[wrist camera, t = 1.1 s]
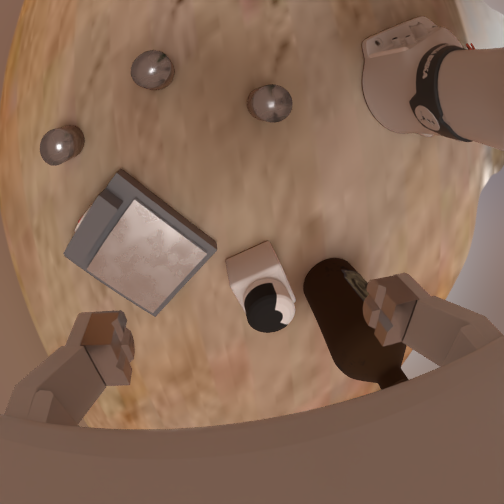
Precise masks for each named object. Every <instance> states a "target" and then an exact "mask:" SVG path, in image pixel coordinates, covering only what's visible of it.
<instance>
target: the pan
mask: <svg viewBox="0 0 504 504" xmlns="http://www.w3.org/2000/svg"><path fill="white" fill-rule="evenodd" d="M206 255H207V251H206V250H205V249H203V248H202V247H201V246H199V245H198V244H197V243H195V242H194V241H192V240H191V239H190V238H188V237H187V236H186V235H184V234H183V233H182V232H180V231H179V230H178V229H176V228H175V227H174V226H172V225H171V224H170V223H168V222H167V221H166V220H165V219H163V218H162V217H161V216H159V215H158V214H157V213H155V212H154V211H153V210H151V209H150V208H149V207H147V206H146V205H145V204H143V203H142V202H141V201H140V200H138V199H137V198H135V199H134V201H133V202H132V203H131V205H130V206H129V207H128V209H127V210H126V212H125V213H124V214H123V216H122V217H121V218H120V220H119V221H118V223H117V224H116V226H115V227H114V228H113V230H112V231H111V233H110V234H109V236H108V237H107V239H106V240H105V242H104V243H103V245H102V246H101V248H100V249H99V251H98V252H97V254H96V255H95V257H94V258H93V260H92V261H91V263H90V265H89V266H88V268H87V270H88V271H89V272H91V273H92V274H93V275H95V276H96V277H98V278H99V279H101V280H102V281H104V282H105V283H107V284H108V285H110V286H111V287H112V288H114V289H115V290H117V291H119V292H120V293H122V294H123V295H125V296H126V297H128V298H129V299H131V300H132V301H134V302H136V303H137V304H139V305H140V306H142V307H144V308H145V309H147V310H148V311H150V312H152V313H154V312H155V310H156V309H157V308H158V307H159V306H160V305H161V304H162V303H163V302H164V300H165V299H166V298H167V297H168V296H169V295H170V294H171V293H172V292H173V291H174V289H175V288H176V287H177V286H178V285H179V284H180V283H181V282H182V281H183V280H184V278H185V277H186V276H187V275H188V274H189V273H190V272H191V271H192V270H193V269H194V268H195V267H196V265H197V264H198V263H199V262H200V261H201V260H202V259H203V258H204V257H205V256H206Z"/></svg>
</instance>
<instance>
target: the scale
mask: <svg viewBox="0 0 504 504" xmlns="http://www.w3.org/2000/svg"><path fill="white" fill-rule="evenodd" d="M135 198H137V199H138V200H140V201H141V202H142V203H143V204H145V205H146V206H147V207H149V208H150V209H151V210H153V211H154V212H155V213H157V214H158V215H159V216H161V217H162V218H163V219H165V220H166V221H167V222H168V223H170V224H171V225H172V226H174V227H175V228H176V229H178V230H179V231H180V232H182V233H183V234H184V235H186V236H187V237H188V238H190V239H191V240H192V241H194V242H195V243H197V244H198V245H199V246H201V247H202V248H203V249H205V250H206V251H207V255H206V256H205V257H204V258H203V259H202V260H201V261H200V262H199V263H198V264H197V265H196V267H195V268H194V269H193V270H192V271H191V272H190V273H189V274H188V275H187V276H186V277H185V278H184V280H183V281H182V282H181V283H180V284H179V285H178V286H177V287H176V288H175V289H174V291H173V292H172V293H171V294H170V295H169V296H168V297H167V298H166V299H165V300H164V302H163V303H162V304H161V305H160V306H159V307H158V308H157V309H156V310H155V312H154V313H152V312H150V311H148V310H147V309H145V308H144V307H142V306H140V305H139V304H137V303H136V302H134V301H132V300H131V299H129V298H128V297H126V296H125V295H123V294H122V293H120V292H119V291H117V290H115V289H114V288H112V287H111V286H110V285H108V284H107V283H105V282H104V281H102V280H101V279H99V278H98V277H96V276H95V275H93V274H92V273H91V272H89V271H88V270H87V268H88V266H89V265H90V263H91V261H92V260H93V258H94V257H95V255H96V254H97V252H98V251H99V249H100V248H101V246H102V245H103V243H104V242H105V240H106V239H107V237H108V236H109V234H110V233H111V231H112V230H113V228H114V227H115V226H116V224H117V223H118V221H119V220H120V218H121V217H122V216H123V214H124V213H125V212H126V210H127V209H128V207H129V206H130V205H131V203H132V202H133V201H134V199H135ZM78 222H79V223H78V225H77V227H76V228H75V234H74V236H73V237H72V239H71V241H70V243H69V244H68V246H67V248H66V250H65V252H64V253H63V254H65V255H64V256H65V257H67V258H68V259H69V260H71V261H72V262H73V263H75V264H76V265H77V266H79V267H80V268H82V269H83V270H84V271H86V272H87V273H89V274H90V275H92V276H93V277H94V278H96V279H97V280H99V281H100V282H102V283H103V284H105V285H106V286H108V287H109V288H111V289H112V290H114V291H115V292H117V293H118V294H120V295H121V296H123V297H124V298H126V299H127V300H129V301H131V302H132V303H134V304H135V305H137V306H138V307H140V308H142V309H143V310H145V311H147V312H148V313H150V314H151V315H153V316H155V317H156V316H157V314H158V313H159V312H160V311H161V310H162V309H163V308H164V307H165V306H166V305H167V304H168V302H169V301H170V300H171V299H172V298H173V297H174V296H175V295H176V294H177V293H178V292H179V290H180V289H181V288H182V287H183V286H184V285H185V284H186V283H187V282H188V281H189V280H190V279H191V278H192V276H193V275H194V274H195V273H196V272H197V271H198V270H199V269H200V268H201V267H202V266H203V265H204V264H205V263H206V262H207V260H208V259H209V258H210V257H211V256H212V255H213V254H214V253H215V252H216V251H217V244H216V242H215V241H214V240H213V239H211V238H210V237H209V236H208V235H206V234H205V233H204V232H202V231H201V230H200V229H198V228H197V227H196V226H194V225H193V224H192V223H191V222H189V221H188V220H187V219H185V218H184V217H183V216H181V215H180V214H179V213H178V212H176V211H175V210H174V209H172V208H171V207H170V206H169V205H167V204H166V203H165V202H163V201H162V200H161V199H159V198H158V197H157V196H156V195H154V194H153V193H152V192H150V191H149V190H148V189H147V188H145V187H144V186H143V185H142V184H140V183H139V182H138V181H136V180H135V179H134V178H133V177H131V176H130V175H129V174H127V173H126V172H125V171H124V170H122V169H120V170H119V171H118V172H117V173H116V174H115V176H114V177H113V178H112V180H111V181H110V183H109V184H108V185H107V187H106V188H105V189H104V190H103V191H102V192H101V193H100V194H99V195H98V197H97V198H96V200H95V201H94V203H93V204H92V205H91V206H90V207H89V208H88V210H87V211H86V212H85V214H84V215H83V216H82V217H81V219H80V220H79V221H78Z"/></svg>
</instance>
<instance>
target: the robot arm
mask: <svg viewBox="0 0 504 504" xmlns="http://www.w3.org/2000/svg"><path fill="white" fill-rule="evenodd" d="M375 41H376V42H377V44H378V45H376V44H375ZM466 46H467V48H468V49H469V50H466V49H464V48H463V46H462V45H461V43H460V42H459V40H458V39H457V38H456V37H455V36H454V34H453V33H452V32H450V31H449V30H448V29H446V28H444V27H438V26H437V25H436V24H435V23H433V22H432V21H431V20H430V19H428V18H427V17H425V16H420V17H416V18H413V19H411V20H408V21H406V22H403V23H401V24H398V25H396V26H393V27H391V28H389V29H386V30H384V31H382V32H380V33H377V34H375V35H373V36H371V37H368V38H366V39H365V40H364V41H363V43H362V49H363V54H364V58H365V65H364V71H363V79H362V80H363V92H364V96H365V99H366V102H367V105H368V107H369V109H370V111H371V112H372V114H373V115H374V117H375V118H376V119H377V120H378V121H379V122H380V123H381V124H382V125H383V126H384V127H386V128H387V129H389V130H391V131H393V132H397V133H418V134H420V135H422V136H426V137H431V136H433V135H440V136H445V137H448V138H452V139H456V140H457V141H464V142H472V141H475V142H478V143H481V144H485V145H488V146H491V147H494V148H497V149H499V150H502V151H504V47H503V48H493V49H475V48H474V46H473V44H472V43H471V46H472V48H473V49H472V48H471V47H470V46H469V45H468V44H466ZM366 290H367V292H368V294H369V295H368V296H367V297H366V299H365V300H364V303H363V316H364V318H365V321H366V323H367V324H368V326H370V327H372V328H374V329H375V332H374V334H375V336H376V337H377V339H378V340H379V342H380V343H381V345H382V346H387V345H391V344H395V343H398V342H402V341H403V342H402V343H404V344H406V345H407V346H409V347H410V348H412V349H413V350H415V351H417V352H418V353H420V354H422V355H423V356H424V357H426V358H428V359H429V360H431V361H432V362H434V363H436V364H437V365H439V366H440V367H439V368H437V369H435V370H432V371H430V372H428V373H425V374H423V375H420V376H418V377H415V378H413V379H410V380H407V381H405V382H402V383H399V384H397V385H394V386H391V387H388V388H385V389H382V390H379V391H376V392H373V393H370V394H367V395H364V396H361V397H357V398H354V399H351V400H347V401H344V402H340V403H336V404H333V405H329V406H325V407H321V408H317V409H312V410H308V411H304V412H299V413H294V414H289V415H284V416H279V417H274V418H268V419H262V420H256V421H249V422H242V423H234V424H226V425H217V426H207V427H195V428H179V429H104V428H89V427H80V426H79V425H78V424H79V422H80V421H81V420H82V418H83V417H84V416H85V414H86V413H87V412H88V410H89V409H90V408H91V406H92V405H93V404H94V402H95V401H96V400H97V399H98V397H99V396H100V395H101V393H102V392H103V391H104V389H105V388H106V386H118V385H130V381H131V374H132V368H131V365H130V362H131V361H132V360H133V359H134V353H135V348H134V340H133V336H132V333H131V331H130V330H129V329H127V328H126V323H127V319H126V317H125V314H124V312H122V311H102V312H83V313H80V314H78V316H77V318H76V321H75V323H74V326H73V328H72V330H71V333H70V335H69V338H68V340H67V343H66V345H65V346H61V347H60V348H59V349H58V350H56V351H55V352H54V353H53V354H52V355H50V356H49V357H48V358H47V359H46V360H44V361H43V362H42V363H41V364H40V365H39V366H37V367H36V368H35V369H34V370H33V371H32V372H30V373H29V374H28V375H27V376H26V377H25V378H23V380H21V381H20V382H19V383H18V384H17V385H15V387H14V390H13V392H12V395H11V397H10V400H9V403H8V406H7V408H6V411H5V414H4V415H2V414H0V504H504V335H503V334H502V333H501V332H500V331H499V330H498V329H497V328H496V327H495V326H494V325H493V324H492V323H491V322H490V321H489V320H488V319H487V318H486V317H485V316H483V315H480V314H478V313H475V312H473V311H471V310H468V309H465V308H463V307H461V306H458V305H456V304H453V303H451V302H448V301H446V300H443V299H441V298H438V297H436V296H432V297H431V296H430V295H429V294H428V293H427V292H426V291H425V290H424V289H423V288H422V287H421V286H420V285H419V284H418V283H417V282H416V281H415V280H414V279H413V278H412V277H411V276H410V275H409V274H407V273H401V274H396V275H393V276H389V277H383V278H378V279H372V280H370V281H369V282H368V284H367V289H366Z"/></svg>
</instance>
